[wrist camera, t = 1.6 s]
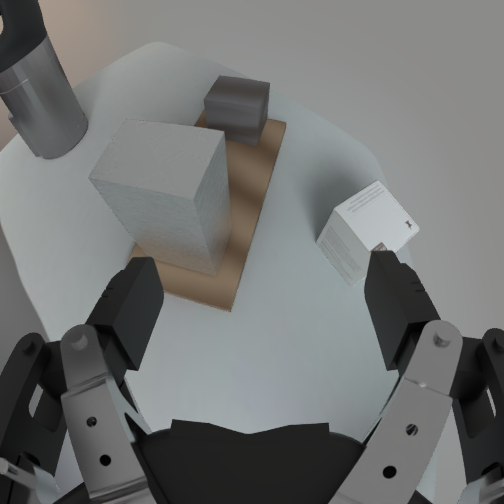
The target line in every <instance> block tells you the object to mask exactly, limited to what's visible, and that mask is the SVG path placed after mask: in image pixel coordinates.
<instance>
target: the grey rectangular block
mask: <svg viewBox="0 0 504 504" xmlns="http://www.w3.org/2000/svg"><path fill="white" fill-rule="evenodd" d="M88 178H89V180H90V181H91V182H92V184H93V185H94V187H95V188H96V190H97V191H98V192H99V194H100V195H101V197H102V198H103V199H104V201H105V202H106V203H107V205H108V206H109V207H110V209H111V210H112V212H113V213H114V214H115V216H116V217H117V218H118V220H119V221H120V222H121V223H122V225H123V226H124V227H125V229H126V230H127V231H128V233H129V234H130V235H131V236H132V238H133V239H134V240H135V242H136V243H137V244H138V245H139V247H140V248H141V249H142V250H143V252H144V253H145V254H146V255H147V257H152V258H153V259H156V260H159V261H163V262H166V263H170V264H173V265H176V266H180V267H183V268H187V269H190V270H194V271H197V272H201V273H204V274H208V275H211V276H215V277H216V276H217V273H218V270H219V267H220V264H221V261H222V258H223V255H224V252H225V249H226V246H227V243H228V240H229V237H230V234H231V231H232V221H231V209H230V198H229V185H228V173H227V160H226V147H225V134H224V131H219V130H213V129H207V128H201V127H194V126H186V125H179V124H171V123H162V122H152V121H142V120H130V119H126V121H125V122H124V123H123V125H122V126H121V127H120V129H119V130H118V132H117V133H116V135H115V136H114V138H113V139H112V140H111V142H110V143H109V145H108V146H107V148H106V150H105V151H104V153H103V154H102V156H101V157H100V159H99V160H98V162H97V164H96V165H95V167H94V169H93V170H92V172H91V174H90V175H89V177H88Z"/></svg>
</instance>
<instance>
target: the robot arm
mask: <svg viewBox="0 0 504 504" xmlns="http://www.w3.org/2000/svg"><path fill="white" fill-rule="evenodd" d="M1 15H2V20H3V31H2V33H1V35H0V97H1V98H2V100H3V101H4V103H5V105H6V106H7V108H8V109H9V111H10V113H9V115H8V118H9V120H10V121H11V123H12V124H13V126H14V127H15V129H16V130H17V131H18V133H19V134H20V136H21V137H22V138H23V140H24V141H25V142H26V144H27V145H28V146H29V148H30V149H31V150H32V152H33V153H34V154H35V156H42V157H43V158H45V159H53V158H56V157H59V156H61V155H63V154H65V153H66V152H68V151H69V150H70V149H72V148H73V147H74V146H75V145H76V144H77V143H78V142H79V141H80V140H81V138H82V137H83V136H84V134H85V132H86V130H87V126H88V121H87V119H86V117H85V115H84V113H83V111H82V109H81V107H80V105H79V103H78V101H77V99H76V97H75V95H74V93H73V90H72V88H71V86H70V84H69V82H68V80H67V78H66V76H65V73H64V71H63V69H62V67H61V64H60V62H59V60H58V57H57V55H56V53H55V51H54V49H53V46H52V44H51V41H50V39H49V36H48V34H47V31H46V29H45V26H44V22H43V17H42V13H41V9H40V6H39V3H38V0H0V16H1ZM364 294H365V300H366V303H367V306H368V309H369V312H370V316H371V319H372V322H373V325H374V328H375V331H376V335H377V338H378V341H379V345H380V348H381V352H382V355H383V359H384V362H385V366H386V369H387V371H389V370H396V369H398V372H399V377H398V379H397V381H396V383H395V385H394V387H393V389H392V391H391V393H390V395H389V397H388V399H387V400H386V402H385V404H384V406H383V408H382V410H381V411H380V413H379V415H378V417H377V419H376V420H375V422H374V424H373V425H372V427H371V428H370V430H369V431H368V433H367V434H366V436H365V437H364V439H363V441H362V442H359V441H357V440H355V439H353V438H351V437H348V436H346V435H343V434H339V433H335V432H329V423H317V424H301V425H288V426H284V427H280V428H275V429H271V430H267V431H262V432H258V433H253V434H244V433H241V432H237V431H233V430H230V429H226V428H223V427H220V426H216V425H213V424H210V423H202V422H192V421H183V420H175V419H172V424H171V428H170V429H164V430H159V431H156V432H152V430H151V429H150V427H149V426H148V424H147V423H146V421H145V420H144V418H143V416H142V414H141V412H140V409H139V407H138V405H137V403H136V400H135V398H134V396H133V394H132V391H131V389H130V386H129V384H128V382H127V379H126V378H125V373H126V370H127V369H128V370H135V371H138V370H139V367H140V364H141V361H142V359H143V356H144V353H145V350H146V347H147V345H148V342H149V339H150V336H151V334H152V331H153V328H154V326H155V323H156V320H157V318H158V315H159V312H160V310H161V307H162V305H163V300H164V291H163V286H162V283H161V280H160V277H159V274H158V271H157V267H156V264H155V261H154V259H153V258H152V257H132V258H131V260H130V261H129V263H128V265H127V266H126V268H125V269H124V270H121V271H120V272H119V273H117V274H116V275H115V276H114V277H113V278H112V279H111V280H110V282H109V284H108V285H107V287H106V290H104V292H103V294H102V295H101V296H102V297H100V299H99V300H98V302H97V304H96V305H95V307H94V309H93V311H92V312H91V314H90V316H89V318H88V319H87V321H86V323H85V324H81V325H77V326H75V327H73V328H71V329H70V330H68V331H67V332H66V333H65V335H64V336H63V338H62V340H61V341H55V342H49V343H46V342H45V341H44V339H43V338H42V336H41V335H40V334H38V333H29V334H27V335H25V336H24V337H22V338H21V339H20V340H19V342H18V343H17V344H16V346H15V348H14V350H13V352H12V354H11V355H10V357H9V360H8V361H7V363H6V365H5V367H4V369H3V371H2V373H1V375H0V504H432V503H431V502H430V501H429V500H428V499H426V498H425V497H424V496H423V495H421V494H420V493H419V492H418V491H417V490H415V489H416V487H417V486H418V484H419V482H420V480H421V478H422V476H423V474H424V472H425V470H426V468H427V466H428V464H429V461H430V459H431V457H432V455H433V453H434V450H435V448H436V446H437V443H438V441H439V438H440V436H441V433H442V431H443V428H444V425H445V423H446V420H447V417H448V414H449V412H450V409H451V405H452V408H453V412H454V416H455V421H456V425H457V429H458V434H459V439H460V444H461V449H462V455H463V461H464V467H465V475H466V482H467V486H466V487H465V489H464V490H463V492H462V494H461V496H460V499H459V500H458V502H457V504H504V331H503V330H501V329H498V328H492V329H489V330H488V331H486V333H485V334H484V336H483V337H482V339H475V338H468V337H462V336H461V333H460V332H459V330H458V329H457V328H456V327H455V326H454V325H452V324H451V323H449V322H447V321H443V320H441V319H440V317H439V315H438V313H437V311H436V309H435V307H434V305H433V303H432V301H431V300H430V298H429V296H428V294H427V292H425V289H424V287H423V285H422V284H421V281H420V279H419V278H418V276H417V274H416V272H415V271H414V270H413V269H411V268H410V267H409V266H408V265H407V264H406V263H400V262H399V260H398V258H397V257H396V255H395V253H394V252H393V251H392V250H380V251H372V253H371V255H370V260H369V266H368V271H367V276H366V281H365V287H364ZM37 384H38V385H39V386H40V387H41V388H42V389H43V393H42V395H41V398H40V400H39V403H38V406H37V408H36V411H35V414H34V416H33V417H31V415H30V413H29V403H30V400H31V398H32V395H33V393H34V390H35V388H36V386H37ZM488 388H489V390H490V393H491V396H492V399H493V402H494V405H495V409H496V416H495V417H494V414H493V410H492V407H491V403H490V400H489V397H488V394H487V390H488ZM67 428H68V432H69V436H70V439H71V443H72V446H73V450H74V453H75V456H76V459H77V463H78V465H79V468H80V471H81V474H82V477H83V480H84V482H83V483H81V484H80V485H78V486H77V487H76V488H74V489H73V490H71V491H70V492H68V493H67V494H66V495H64V496H63V497H61V490H60V489H59V488H58V487H57V486H56V483H55V480H54V476H55V471H56V467H57V463H58V460H59V456H60V452H61V448H62V445H63V441H64V438H65V434H66V431H67Z"/></svg>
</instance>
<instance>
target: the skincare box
mask: <svg viewBox="0 0 504 504" xmlns="http://www.w3.org/2000/svg"><path fill="white" fill-rule="evenodd" d="M419 229H420V228H419V227H418V225H417V224H416V223H415V222H414V221H413V220H412V218H411V217H410V216H409V215H408V214H407V212H406V211H405V210H404V209H403V208H402V207H401V205H400V204H399V203H398V202H397V201H396V200H395V198H394V197H393V196H392V195H391V193H390V192H389V191H388V190H387V189H386V188H385V186H384V185H383V184H382V183H381V182H380V181H379V180H376V181H375V182H373V183H372V184H370V185H368V186H367V187H365V188H364V189H362V190H361V191H359V192H357V193H356V194H354V195H353V196H351V197H350V198H348V199H347V200H345V201H344V202H342V203H341V204H339V205H338V206H336V207H335V208H334V209H333V211H332V213H331V215H330V216H329V218H328V220H327V222H326V224H325V226H324V228H323V230H322V231H321V233H320V235H319V237H318V239H317V241H316V244H317V245H318V247H319V248H320V249H321V250H322V252H323V253H324V254H325V255H326V257H327V258H328V259H329V260H330V262H331V263H332V264H333V265H334V267H335V268H336V269H337V271H338V272H339V273H340V274H341V276H342V277H343V278H344V280H345V281H346V282H347V283H348V285H349V286H350V287H351V288H353V287H354V286H355V285H357V284H358V283H359V282H361V281H362V280H363V279H365V278H366V276H367V271H368V266H369V260H370V255H371V253H372V251H380V250H392V251H393V252H394V253H396V252H397V251H398V250H399V249H400V248H401V247H402V246H403V245H404V244H405V243H406V242H408V241H409V240H410V239H411V238H412V237H413V236H414V235H415V234H416V233H417V232H418V231H419Z"/></svg>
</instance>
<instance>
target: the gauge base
mask: <svg viewBox="0 0 504 504" xmlns="http://www.w3.org/2000/svg"><path fill="white" fill-rule="evenodd" d="M269 88H270V83H268V82H261V81H256V80H250V79H243V78H236V77H228V76H219V77H218V79H217V80H216V82H215V83H214V85H213V86H212V88H211V89H210V91H209V92H208V94H207V95H206V97H205V98H204V105H205V109H204V111H203V112H202V114H201V116H200V117H199V119H198V121H197V122H196V124H195V126H194V127H201V128H207V129H213V130H219V131H224V134H225V147H226V160H227V173H228V185H229V198H230V209H231V221H232V231H231V234H230V237H229V240H228V243H227V246H226V249H225V252H224V255H223V258H222V261H221V264H220V267H219V270H218V273H217V276H216V277H215V276H211V275H208V274H204V273H201V272H197V271H194V270H190V269H187V268H183V267H180V266H176V265H173V264H170V263H166V262H163V261H159V260H156V259H154V261H155V264H156V267H157V271H158V274H159V277H160V280H161V283H162V286H163V291H164V292H165V293H169V294H172V295H175V296H178V297H181V298H184V299H188V300H191V301H194V302H197V303H201V304H204V305H208V306H211V307H214V308H218V309H221V310H225V311H228V312H231V309H232V306H233V302H234V299H235V296H236V292H237V289H238V286H239V282H240V279H241V275H242V272H243V269H244V265H245V262H246V259H247V255H248V252H249V249H250V245H251V242H252V239H253V235H254V232H255V229H256V225H257V222H258V219H259V215H260V212H261V209H262V205H263V202H264V199H265V195H266V192H267V189H268V185H269V182H270V179H271V176H272V172H273V169H274V166H275V162H276V159H277V156H278V152H279V149H280V146H281V142H282V139H283V136H284V133H285V129H286V123H285V122H281V121H276V120H272V119H267V113H268V101H269ZM132 257H147V255H146V254H145V253H144V252H143V250H142V249H141V248H140V247H139V245H138V244H137V243H136V244H135V246H134V249H133V251H132V254H131V256H130V258H129V261H130V260H131V258H132ZM129 261H128V263H129ZM128 263H127V265H128Z"/></svg>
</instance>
